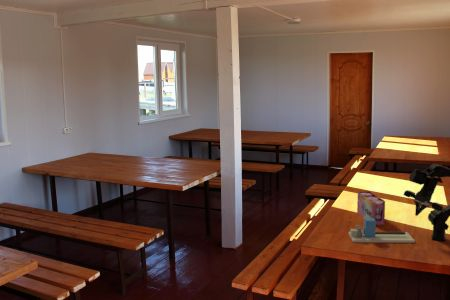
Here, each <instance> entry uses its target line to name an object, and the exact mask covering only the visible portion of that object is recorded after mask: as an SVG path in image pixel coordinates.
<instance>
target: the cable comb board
mask: <svg viewBox="0 0 450 300" xmlns="http://www.w3.org/2000/svg"><path fill="white" fill-rule="evenodd" d="M348 235H349V238H350V239H351V240H352V242H353V243H403V244H404V243H406V244H407V243H410V244H411V243H415V242H416V240H415V239H414V238H413V237H412V236H411V235H410V234H409V232H407V231H375V237H365V232H364V231H363V229H362V227H361V225H360V224H356V225H355V228H350V231H348Z"/></svg>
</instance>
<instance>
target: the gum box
mask: <svg viewBox="0 0 450 300" xmlns="http://www.w3.org/2000/svg"><path fill="white" fill-rule="evenodd" d="M356 202H357V204H356V205H357V207H356V210H357V212H356V213H357V214H358V215H359V216H360V217H361V218H362V219H364V218H374V219H375V221H376V226H380V225H385V215H386V211H385V210H386V201H385V200H384V199H382V198H381V197H379V196H378V195H376V194H375V193H373V192H371V191H370V190H367V191H358V192H357V201H356Z"/></svg>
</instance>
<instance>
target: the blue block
mask: <svg viewBox="0 0 450 300" xmlns="http://www.w3.org/2000/svg"><path fill="white" fill-rule="evenodd" d="M376 226H377V225H376V221H375V219H374V218H363V229H362V230H363V231H364V232H365V237H375V232H376Z"/></svg>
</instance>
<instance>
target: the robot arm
mask: <svg viewBox="0 0 450 300" xmlns="http://www.w3.org/2000/svg"><path fill="white" fill-rule="evenodd" d="M442 178H450V168H449V167H446V166H443V165H440V164H438V163H432V164H430V166H429V167H428V168H426V169H424V170H423V171H422V170H419V169H417V168H415V169H414V170H413V171H412V172H411V173H410V174H409V182H411V183H415V184H417V185H420V186H421V185H422V187H421V188H420V190H419V191H417V192H416V193H415V191H414V192H413V191H412V190H407V189H406V190H405V191H404V192H403V196H405V197H407V198H413V199H414V200H413V202H414V203H415V215H414V216H415V217H418V216H419V215H420V214H421V213H422V212H423V211H424V210H425V209H426V208H430V207H431V208H432V210H430V213H428V216H427V219H428V221H429V222H430V224H431V225H432V226H433V227H432V234H431V240H432V241H440V242H446V239H447V237H446V231H448V229H449V224H447V223H446V222H447V221H448V219H449V218H450V204H449V205H447V206H445V207H443V204H440V203H439V202H432V196H433V195H434V193H435V190H436V188H437V186H438V184H439V183H441V184H443V183H444V182H443V180H442Z"/></svg>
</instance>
